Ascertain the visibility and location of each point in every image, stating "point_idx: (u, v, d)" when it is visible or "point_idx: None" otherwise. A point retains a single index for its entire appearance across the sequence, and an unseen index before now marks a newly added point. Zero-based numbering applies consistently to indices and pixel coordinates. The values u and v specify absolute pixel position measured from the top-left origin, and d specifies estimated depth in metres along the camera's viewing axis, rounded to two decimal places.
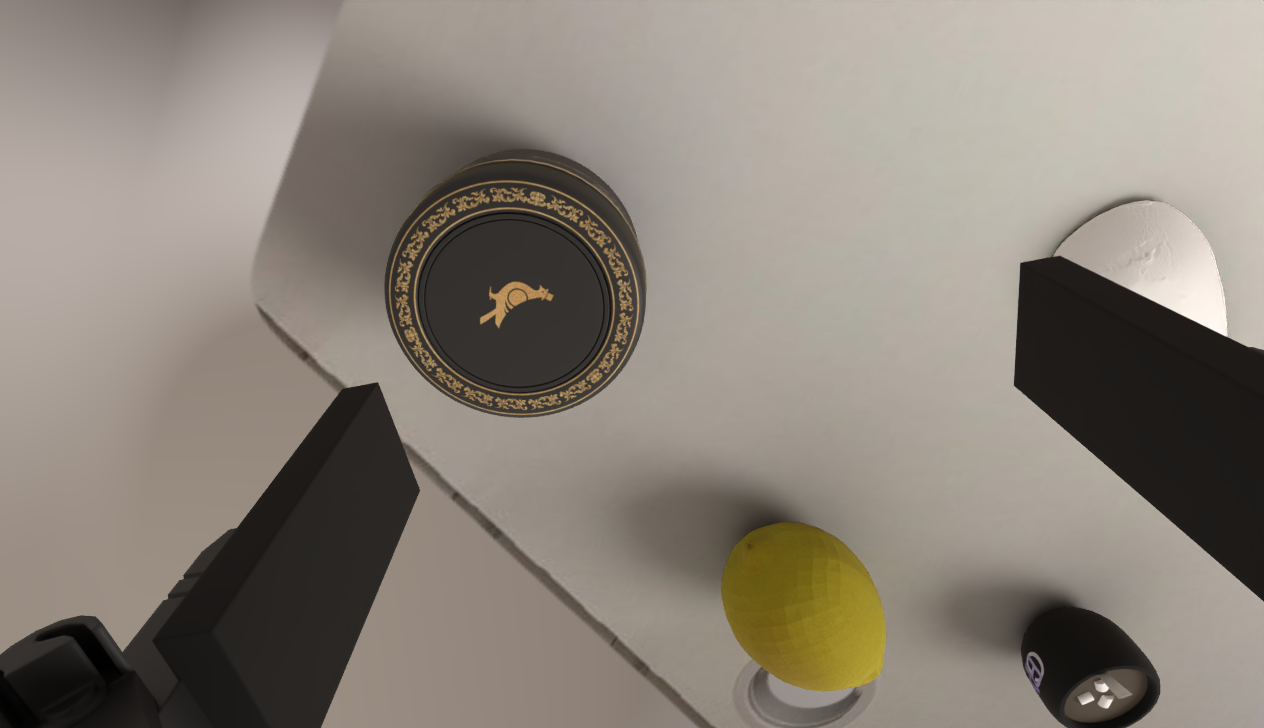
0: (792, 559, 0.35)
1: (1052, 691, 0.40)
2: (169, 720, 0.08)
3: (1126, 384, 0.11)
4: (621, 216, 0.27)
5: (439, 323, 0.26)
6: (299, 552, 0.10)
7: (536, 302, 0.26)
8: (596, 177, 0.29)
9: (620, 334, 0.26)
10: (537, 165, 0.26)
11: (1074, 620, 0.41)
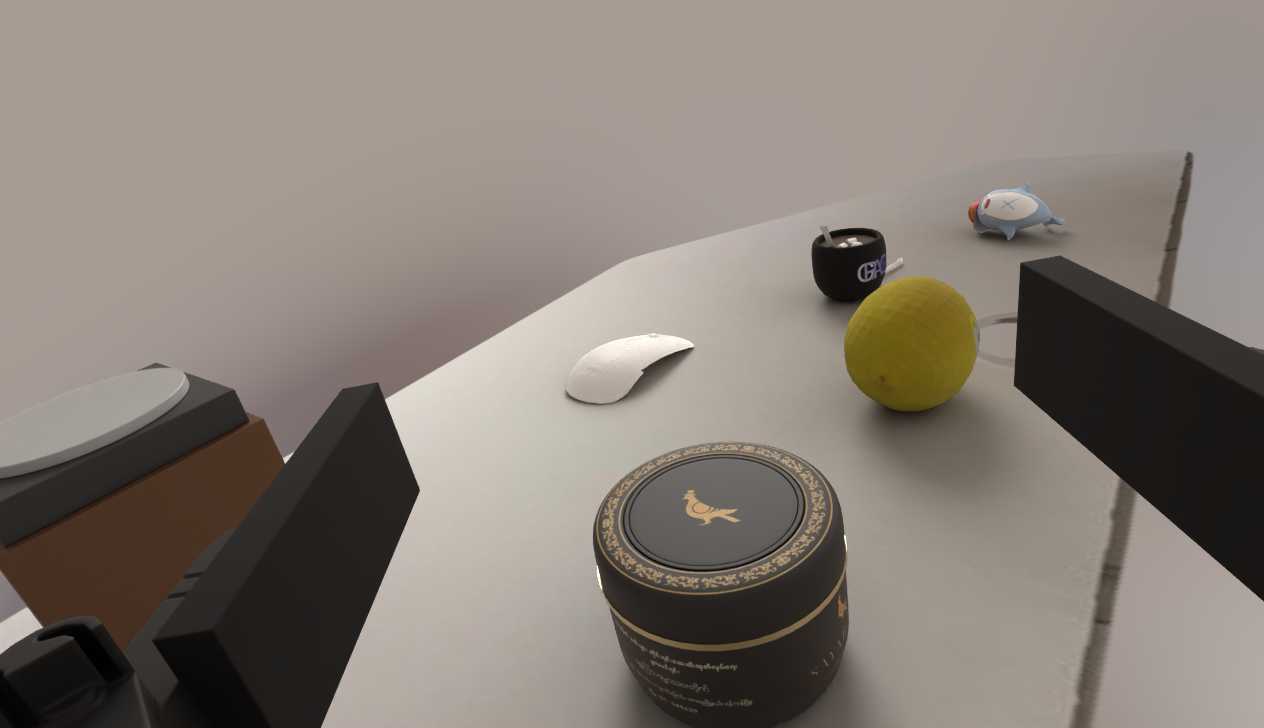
0: (862, 351, 0.42)
1: (865, 252, 0.58)
2: (169, 720, 0.08)
3: (1126, 384, 0.11)
4: None
5: (756, 545, 0.25)
6: (299, 552, 0.10)
7: (699, 496, 0.28)
8: None
9: (702, 449, 0.31)
10: None
11: (824, 283, 0.61)
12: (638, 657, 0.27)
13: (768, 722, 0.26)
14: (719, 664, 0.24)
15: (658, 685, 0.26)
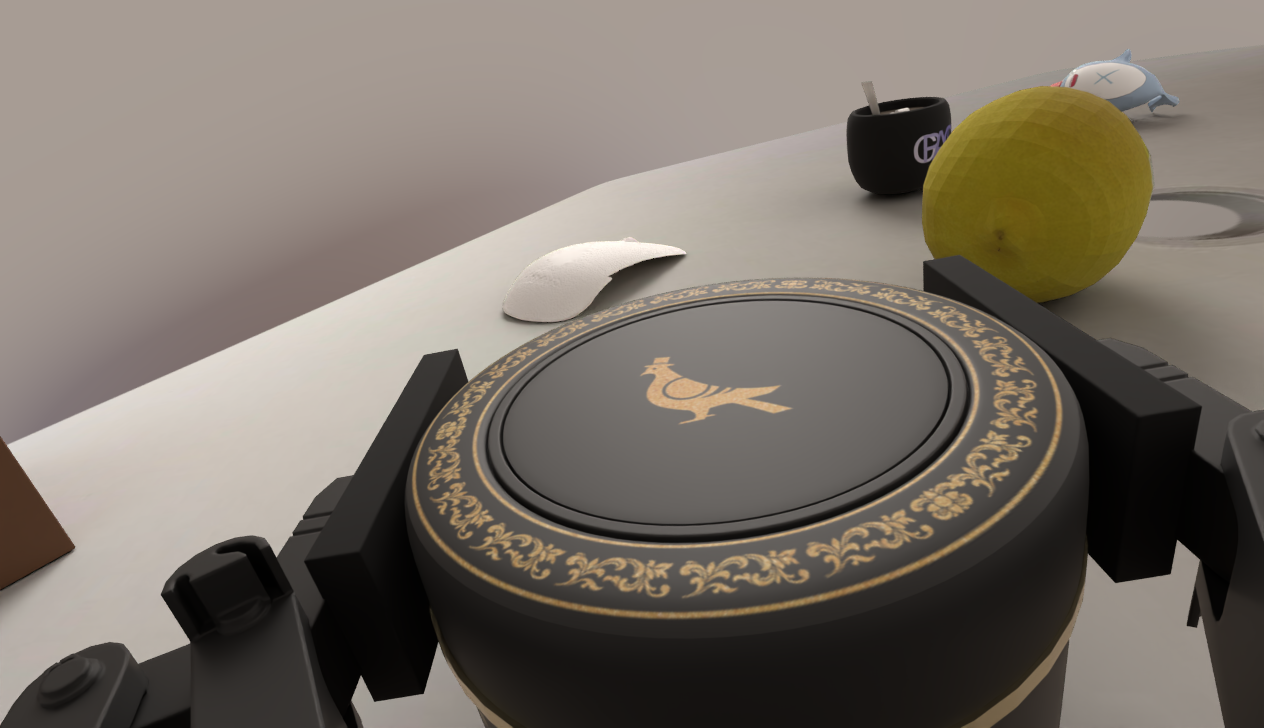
0: (961, 196, 0.25)
1: (925, 119, 0.41)
2: (319, 639, 0.09)
3: None
4: None
5: (848, 464, 0.08)
6: None
7: (682, 367, 0.11)
8: None
9: (692, 293, 0.14)
10: None
11: (866, 169, 0.44)
12: None
13: None
14: None
15: None
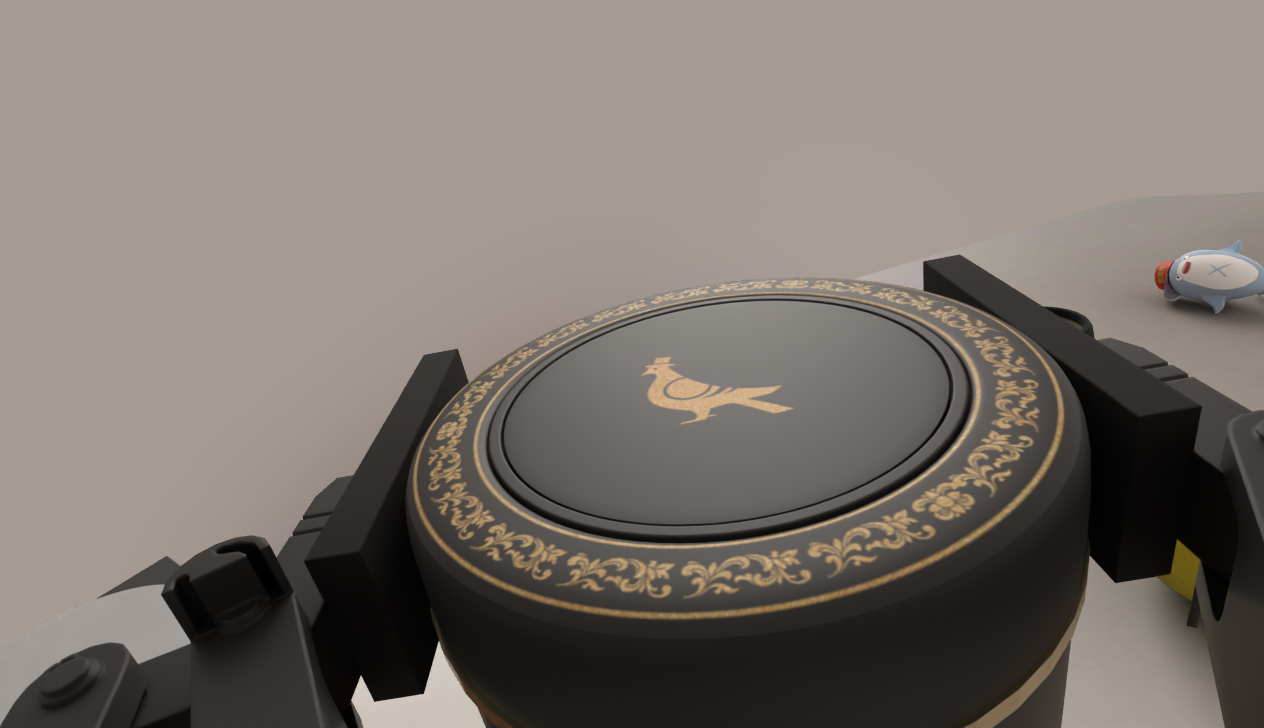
0: None
1: None
2: (319, 639, 0.09)
3: None
4: None
5: (849, 464, 0.08)
6: None
7: (683, 367, 0.11)
8: None
9: (692, 293, 0.14)
10: None
11: None
12: None
13: None
14: None
15: None
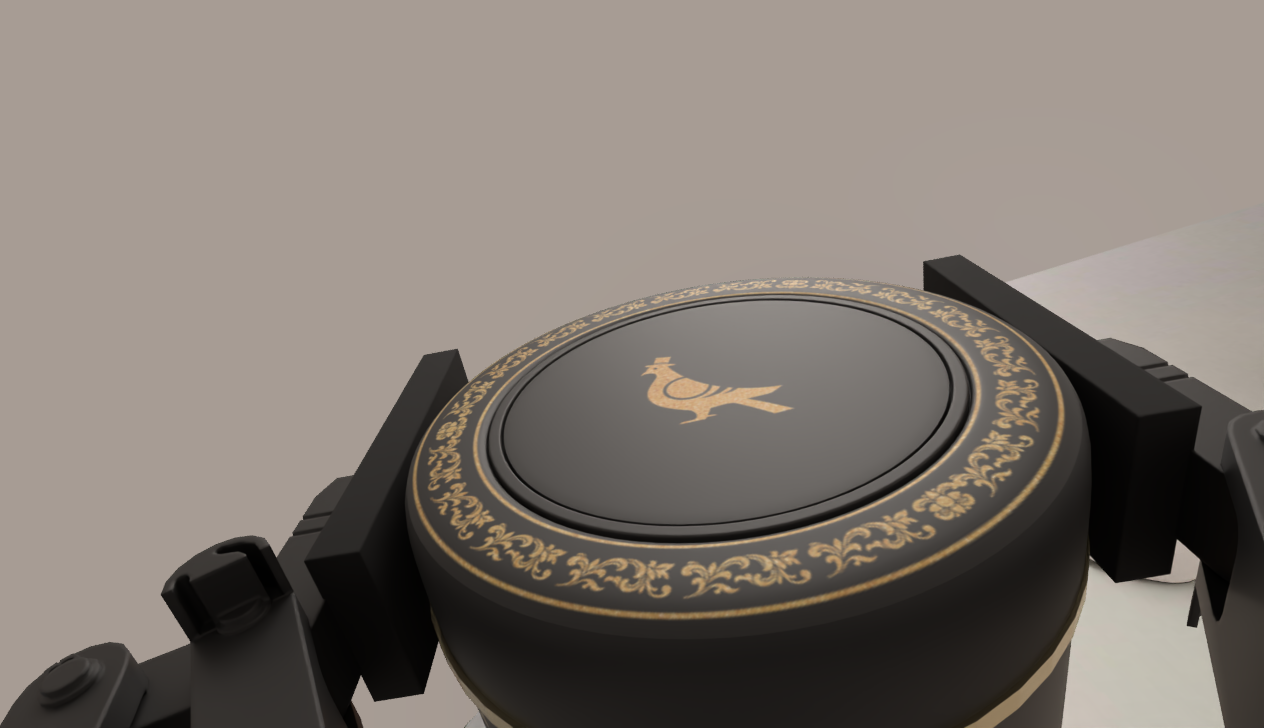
0: None
1: None
2: (319, 639, 0.09)
3: None
4: None
5: (849, 463, 0.08)
6: None
7: (683, 367, 0.11)
8: None
9: (692, 293, 0.14)
10: None
11: None
12: None
13: None
14: None
15: None
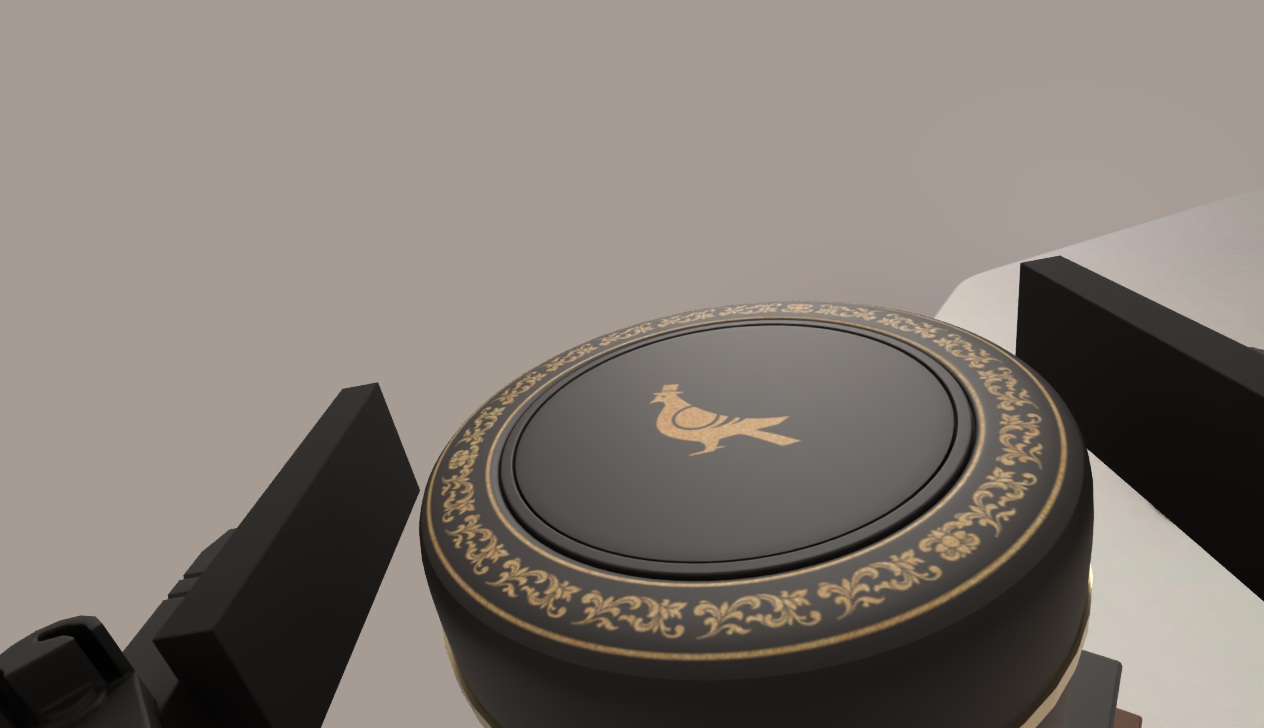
0: None
1: None
2: (169, 720, 0.08)
3: (1126, 384, 0.11)
4: None
5: (857, 500, 0.08)
6: (299, 552, 0.10)
7: (691, 395, 0.12)
8: None
9: (699, 316, 0.15)
10: None
11: None
12: None
13: None
14: None
15: None
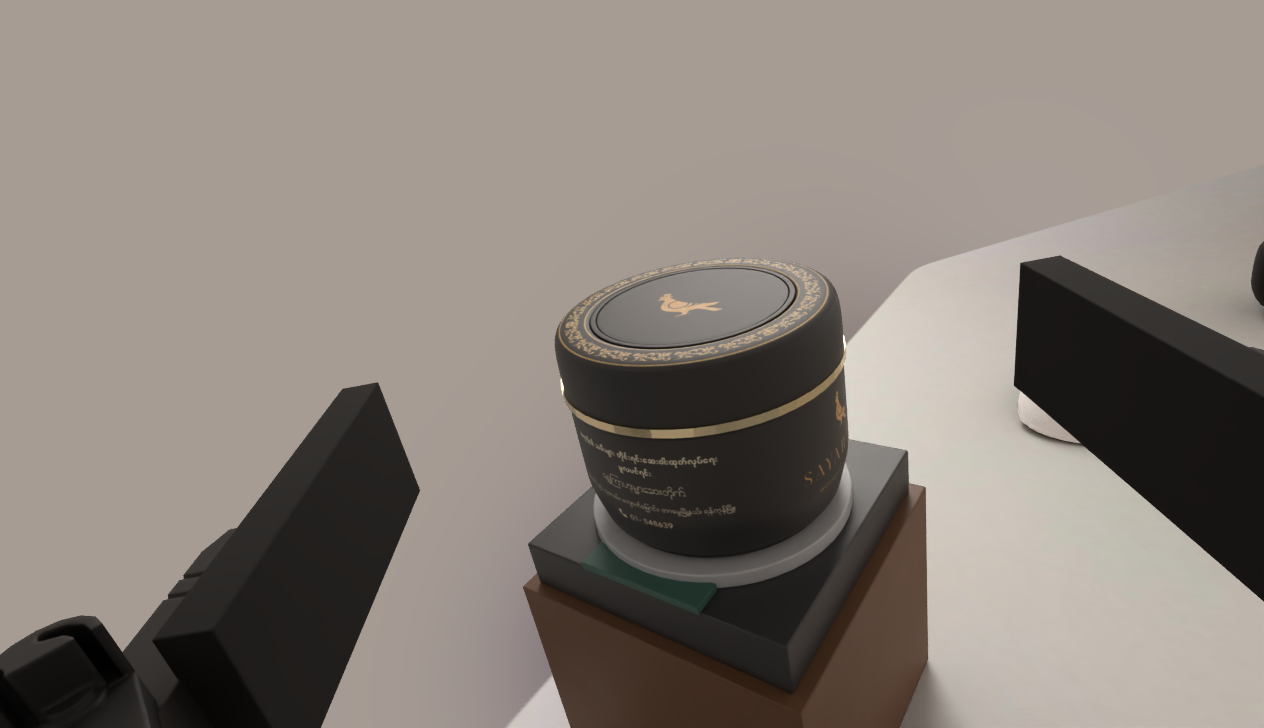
0: None
1: None
2: (169, 720, 0.08)
3: (1126, 384, 0.11)
4: None
5: (739, 324, 0.21)
6: (299, 552, 0.10)
7: (677, 297, 0.25)
8: None
9: (683, 266, 0.28)
10: (562, 379, 0.25)
11: None
12: (605, 469, 0.23)
13: (755, 540, 0.23)
14: (696, 457, 0.21)
15: (628, 500, 0.23)
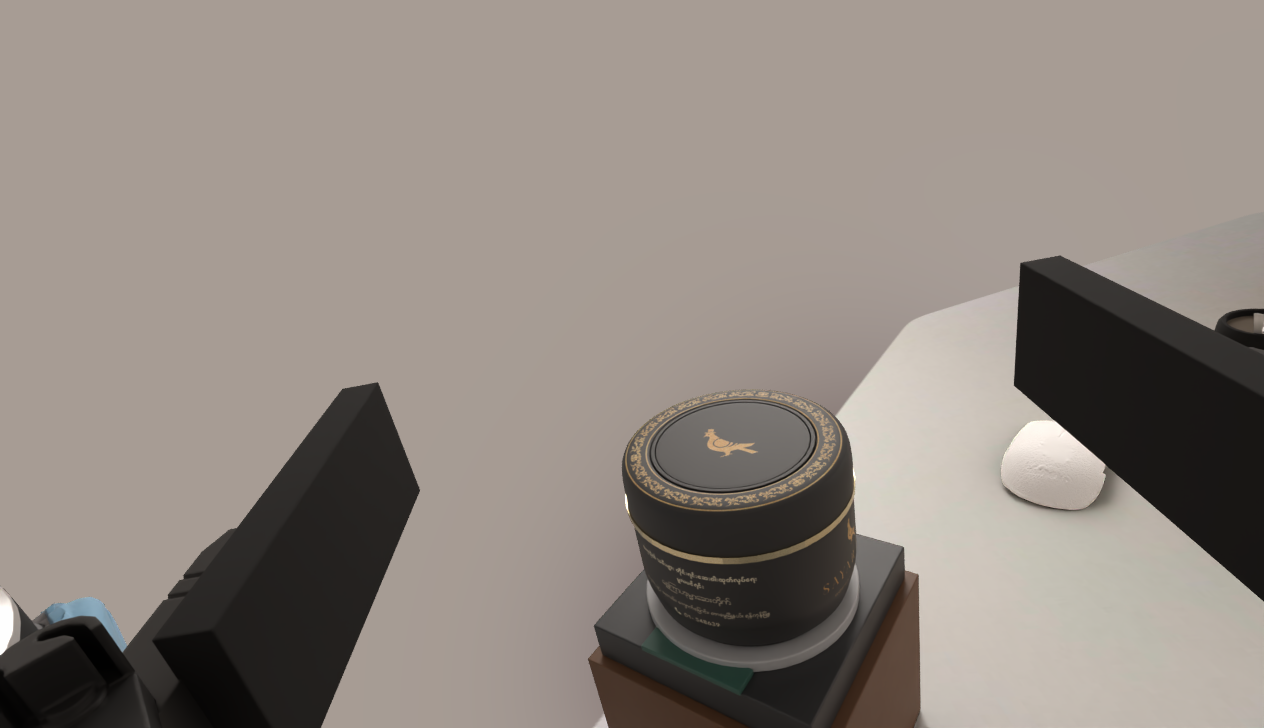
0: None
1: None
2: (169, 720, 0.08)
3: (1126, 384, 0.11)
4: None
5: (773, 470, 0.27)
6: (299, 552, 0.10)
7: (719, 434, 0.31)
8: None
9: (720, 396, 0.34)
10: (626, 499, 0.31)
11: None
12: (665, 577, 0.29)
13: (784, 635, 0.29)
14: (740, 577, 0.27)
15: (683, 602, 0.29)
